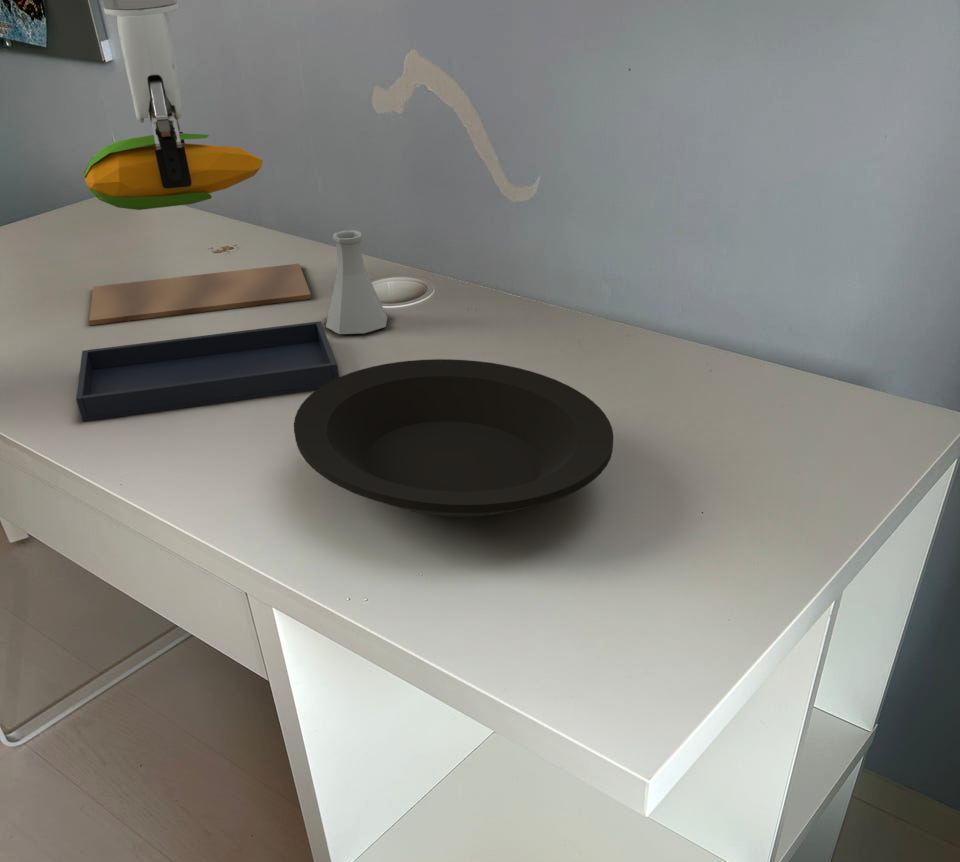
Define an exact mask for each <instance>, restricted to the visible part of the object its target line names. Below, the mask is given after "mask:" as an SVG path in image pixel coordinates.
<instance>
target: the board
mask: <svg viewBox="0 0 960 862" xmlns="http://www.w3.org/2000/svg"><path fill="white" fill-rule="evenodd" d="M91 294H92V295H91V301H90V310H89V316H88V317H89V318H88V322H89V325H90V326H95V325H96V326H97V325H105V324H111V323H112V324H113V323H122V322H123V323H124V322H129V321H138V320H139V321H140V320H148V319H154V318H163V317H172V316H181V315H187V314H197V313H205V312H213V311H214V312H215V311H221V310H222V311H223V310H231V309H240V308H247V307H256V306H263V305H272V304H273V305H274V304H281V303H288V302H289V303H290V302H298V301H306V300H312V294H311V291H310V288H309V286H308V283H307V280H306V278H305V275H304V273H303V270H302V268H301V265H300V263H293V264H292V263H290V264H283V265H282V264H281V265H274V266H265V267H256V268H246V269H239V270H238V269H237V270H229V271H228V270H227V271H221V272H219V271H218V272H212V273H203V274H202V273H201V274H194V275H185V276H177V277H167V278H157V279H150V280H149V279H148V280H141V281H131V282H123V283H113V284H104V285H96V286H93V287H92V293H91Z"/></svg>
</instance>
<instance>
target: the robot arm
mask: <svg viewBox="0 0 960 862" xmlns="http://www.w3.org/2000/svg"><path fill="white" fill-rule="evenodd" d="M101 2H102V7H103V11H104V15H107V16H114V17H115V18H116V25H117V32H118V37H119V42H120V47H121V53H122V57H123V63H124V67H125V71H126V75H127V81H128V85H129V89H130V93H131V98H132V102H133V103H132V104H133V107H134V113H135V119H136V120H137V121H138V122H139V123H141V124H142V123H144V122H145V121H144V120H145V119H148V117H149V121H150V125H151V130H152V135H154V140H155V145H156V149H155V154H156V159H157V163H158V168H159V172H160V177H161V181H162V186H163V187H164V188H166V189H168V188H178V187H188V186H191V184H192V183H191V177H190V172H189V167H188V162H187V157H186V152H185V147H184V146H182V144H181V143H185V140H181V139H180V134H179V133H184V132H183V131H181V128H180V122H179V119H180V118H182V116H183V111H182V95H181V84H180V78H179V77H180V76H179V70H178V63H177V57H176V53H175V46H174V41H173V40H174V39H173V36H172V31H171V26H170V25H171V24H170V20H169V13H171V12H172V13H173V12H175V11H177V10H179V4H178V0H101ZM174 134H175V136H174ZM175 139H176V140H175ZM176 144H177V145H176Z"/></svg>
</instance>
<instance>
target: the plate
mask: <svg viewBox="0 0 960 862" xmlns="http://www.w3.org/2000/svg"><path fill="white" fill-rule="evenodd" d="M293 434H294V440H295V443H296V447H297V450H298V451H299V453H300V455H301V456H302V458H303V459H304V461H305V462H306V463H307V464H308V465H309V466H310V467H311V468H312V469H313V470H314V471H315V472H316V473H318V474H319V475H320V476H321V477H322V478H325V479H326V480H327V481H329V482H331V483H333V484H334V485H336V486H338V487H340V488H342V489H344V490H346V491H348V492H350V493H353V494H355V495H358V496H361V497H363V498H366V499H369V500H373V501H376V502H379V503H382V504H386V505H388V506H391V507H395V508H399V509H402V510H405V511H410V512H415V513H421V514H425V515H432V516H433V515H434V516H442V517H465V518H466V517H468V518H469V517H485V516H494V515H495V516H496V515H503V514H507V513H512V512H516V511H520V510H525V509H528V508H533V507H536V506H539V505H543V504H547V503H551V502H554V501H556V500H560V499H562V498H565V497H567V496H570V495H572V494H574V493H576V492H578V491H579V490H581V489H583V488H584V487H586V486H587V485H589V484H590V483H591V482H593V481H594V480H595V479H596V478H598V477H599V476H600V475H601V474H602V473H603V472H604V470H605V469H606V467H608V465H609V463H610V461H611V458H612V455H613V450H614V449H613V448H614V431H613V427H612V424H611V422H610V420H609V418H608V417H607V414H605V412H604V411H603V410H602V409H601V408H600V406H598V405H597V404H596V403H595V402H594V400H592V399H590V398H589V396H586V395H585V394H583V393H582V392H580V391H579V390H577V389H575V388H573V387H572V386H570V385H568V384H567V383H564V382H561V381H560V380H557V379H555V378H552V377H550V376H547V375H545V374H540V373H537V372H535V371H531V370H527V369H524V368H520V367H516V366H510V365H506V364H501V363H494V362H488V361H478V360H470V359H469V360H468V359H449V358H447V359H445V358H441V359H439V358H438V359H437V358H435V359H434V358H433V359H414V360H405V361H404V360H403V361H396V362H390V363H385V364H380V365H379V364H378V365H373V366H369V367H366V368H362V369H359V370H355V371H352V372H349V373H347V374H344V375H341V376H339V378H337V379H335V380H332V381H330V382H328V383H327V384H325V385H323V386H322V387H320V388H319V389H317V390H313V392H312V393H311V394H309V396H307V397H306V398H305V399H304V401H302V403H301V404H300V406H299V408H298V409H297V411H296V413H295V416H294V421H293Z"/></svg>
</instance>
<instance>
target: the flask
mask: <svg viewBox="0 0 960 862" xmlns="http://www.w3.org/2000/svg"><path fill="white" fill-rule="evenodd" d="M362 238H363V234H362V232H361V231H358V230H356V229H353V230H352V229H351V230H341V231H337V232H334V233H333V235H332V240H333V242H334V243H335V244H336V253H337V259H336V260H337V262H336V266H337V267H336V275H335V281H334V286H333V292H332V297H331V300H330V306H329V309H328V310H329V311H328V314H327V319H326V324H325V327H326V328H327V329H328V330H331V331H333V332H335V333H336V334H338V335H353V334H366V333H371V332H374V331H376V330H380V329H383V328H386V327H387V322H388V315H387V314H386V311H385V309H384V307H383V304H382V302H381V300H380V298H379V296H378V294H377V291H376V289H375V287H374V285H373V283H372V281H371V278H370V276H369V273H368V271H367V268H366V264H365V261H364V257H363V254H362V248H361V241H362Z"/></svg>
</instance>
